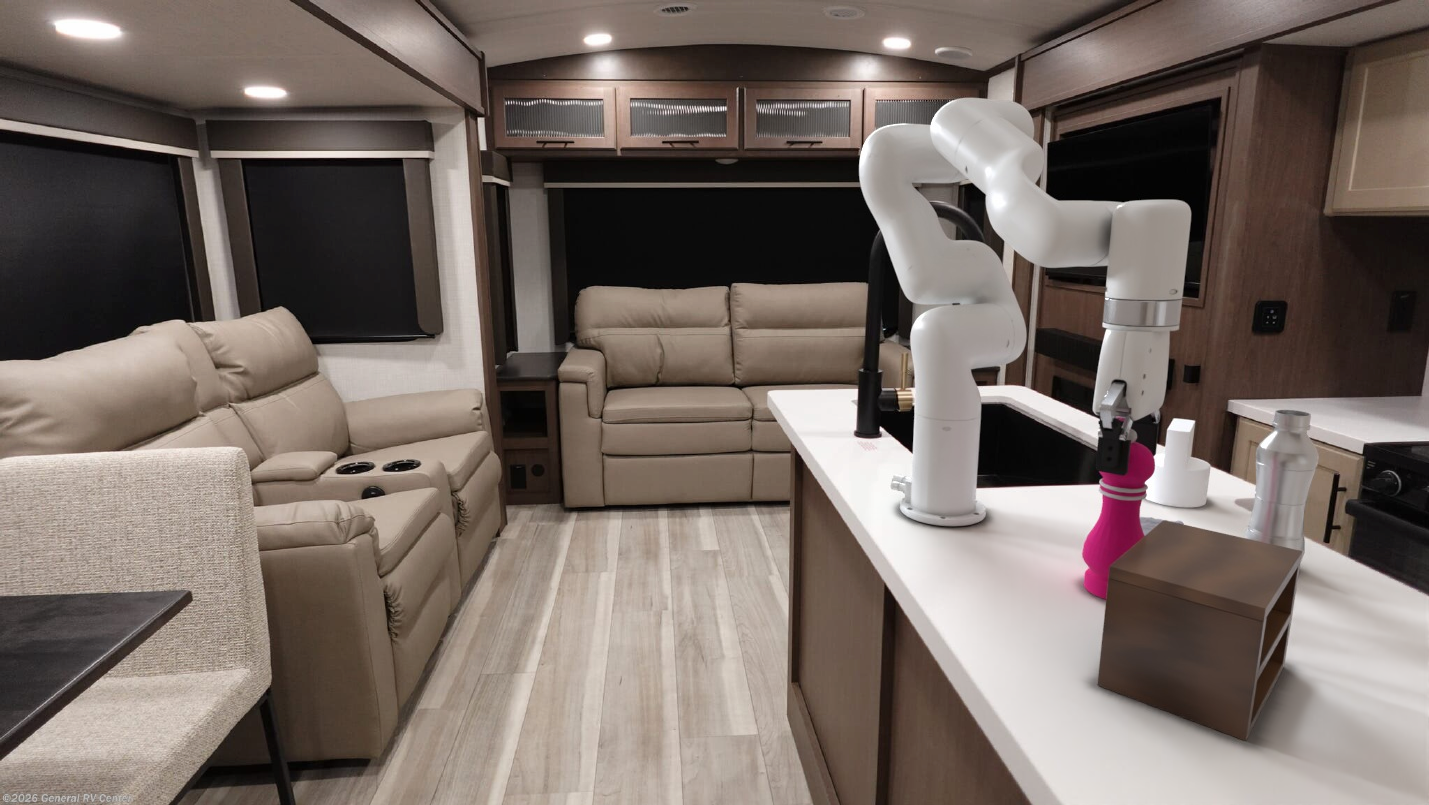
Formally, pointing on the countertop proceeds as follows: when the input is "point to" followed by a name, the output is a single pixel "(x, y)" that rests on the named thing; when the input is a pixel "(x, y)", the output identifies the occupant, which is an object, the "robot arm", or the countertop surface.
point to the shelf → (1199, 624)
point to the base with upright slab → (1179, 470)
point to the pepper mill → (1117, 517)
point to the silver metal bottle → (1283, 481)
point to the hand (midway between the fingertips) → (1126, 463)
